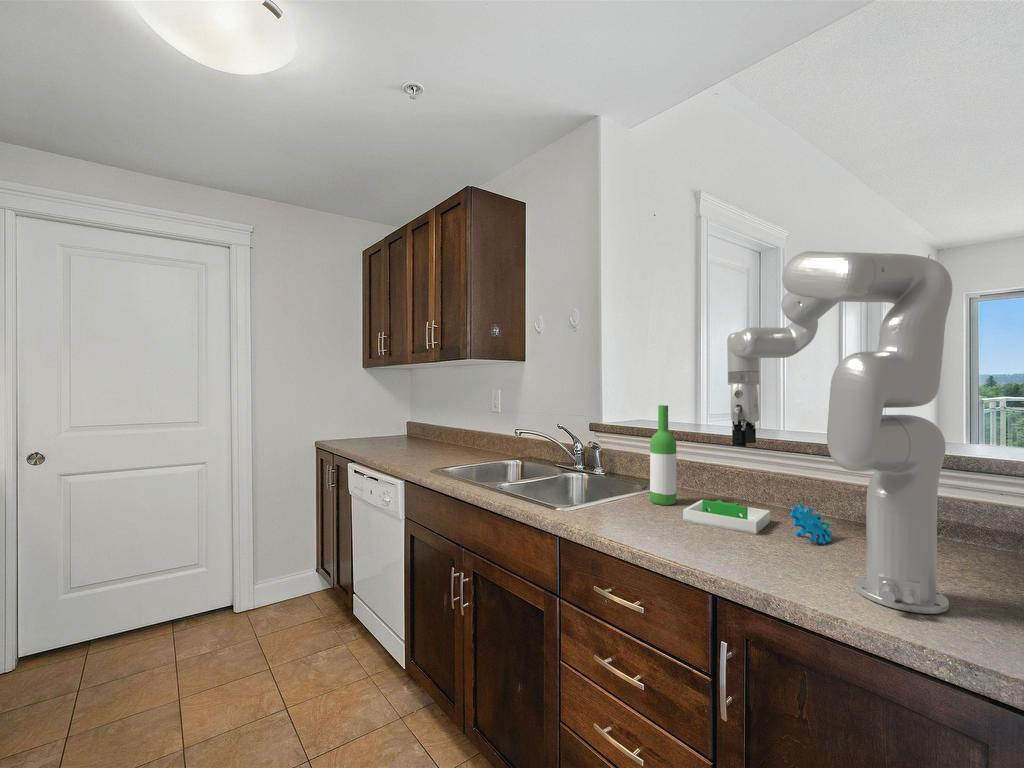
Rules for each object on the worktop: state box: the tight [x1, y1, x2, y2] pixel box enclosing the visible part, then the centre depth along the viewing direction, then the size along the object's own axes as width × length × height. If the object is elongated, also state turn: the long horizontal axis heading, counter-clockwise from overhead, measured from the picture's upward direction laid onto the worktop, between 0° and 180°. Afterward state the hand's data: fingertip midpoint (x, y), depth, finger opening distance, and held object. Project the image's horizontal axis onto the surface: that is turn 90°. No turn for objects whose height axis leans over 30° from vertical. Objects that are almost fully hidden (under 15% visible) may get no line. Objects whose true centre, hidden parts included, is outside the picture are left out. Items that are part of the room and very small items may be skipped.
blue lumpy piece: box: [789, 504, 833, 546], centre depth 115 cm, size 11×6×10 cm
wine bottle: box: [649, 404, 677, 506], centre depth 148 cm, size 8×8×30 cm
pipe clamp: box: [702, 499, 749, 520], centre depth 128 cm, size 11×4×5 cm, turn 48°
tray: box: [682, 499, 771, 536], centre depth 129 cm, size 14×18×3 cm
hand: (744, 444), depth 126 cm, fingers open, 9 cm apart
